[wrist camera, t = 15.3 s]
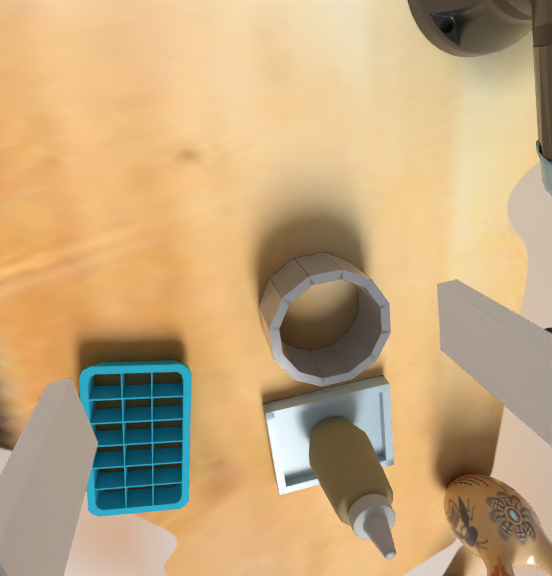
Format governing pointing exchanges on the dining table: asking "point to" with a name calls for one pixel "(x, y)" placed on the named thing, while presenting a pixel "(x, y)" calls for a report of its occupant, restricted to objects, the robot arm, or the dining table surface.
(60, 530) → the robot arm
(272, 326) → the grey faceted ring
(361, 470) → the squeeze bottle
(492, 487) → the ceramic vessel
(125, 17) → the dining table surface
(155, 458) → the ice cube tray
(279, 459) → the tray
